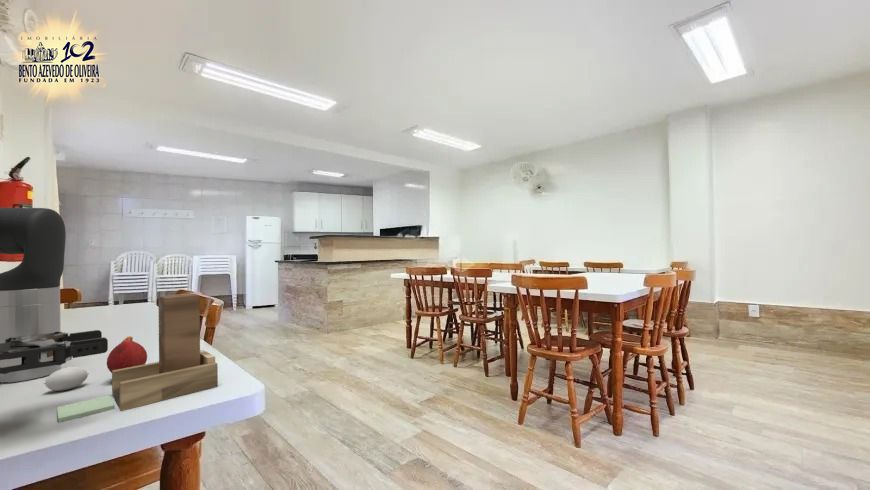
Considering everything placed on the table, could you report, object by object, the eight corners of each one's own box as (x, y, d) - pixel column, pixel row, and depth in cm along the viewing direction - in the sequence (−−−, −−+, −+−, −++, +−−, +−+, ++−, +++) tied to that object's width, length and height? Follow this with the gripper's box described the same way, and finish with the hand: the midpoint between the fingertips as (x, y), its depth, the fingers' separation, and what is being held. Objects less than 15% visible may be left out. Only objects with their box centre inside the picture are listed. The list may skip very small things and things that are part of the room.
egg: (93, 385, 67) (93, 364, 67) (47, 397, 62) (47, 374, 62) (85, 382, 69) (85, 361, 69) (39, 393, 64) (39, 371, 64)
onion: (124, 385, 66) (123, 340, 66) (98, 384, 67) (98, 339, 68) (154, 374, 72) (154, 333, 72) (130, 373, 73) (130, 333, 73)
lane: (217, 386, 65) (217, 357, 65) (120, 410, 55) (120, 377, 55) (200, 374, 72) (200, 348, 72) (112, 394, 62) (111, 364, 62)
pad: (57, 410, 56) (57, 407, 56) (109, 398, 60) (109, 395, 60) (58, 422, 52) (58, 418, 52) (114, 408, 56) (114, 405, 56)
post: (159, 376, 65) (158, 296, 65) (192, 369, 68) (191, 293, 69) (165, 382, 61) (164, 298, 62) (200, 374, 65) (199, 295, 65)
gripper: (-83, 343, 41) (110, 321, 53) (-60, 327, 51) (99, 311, 63) (-84, 411, 41) (110, 374, 53) (-60, 382, 51) (99, 356, 63)
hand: (104, 340), depth 58 cm, fingers open, 8 cm apart
